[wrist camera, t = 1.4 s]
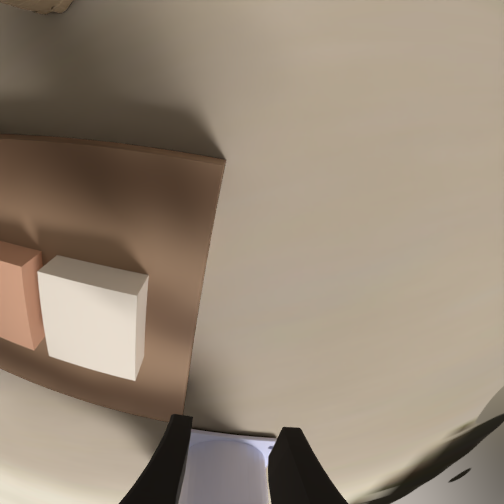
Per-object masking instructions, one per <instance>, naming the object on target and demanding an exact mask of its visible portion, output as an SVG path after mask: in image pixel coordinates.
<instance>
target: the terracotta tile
mask: <svg viewBox="0 0 504 504" xmlns="http://www.w3.org/2000/svg"><path fill="white" fill-rule="evenodd" d="M42 267H43V263H42V251H39V250H35V249H31V248H27V247H23V246H19V245H15V244H11V243H7V242H3V241H0V337H1V338H4V339H6V340H8V341H11V342H13V343H16V344H18V345H21V346H23V347H26V348H29V349H31V350H35V349H36V348H37V346H38V345H39V344H40V342H41V341H42V340H43V338H44V337H45V331H44V325H43V318H42V311H41V303H40V294H39V285H38V273H37V271H38V270H40V269H41V268H42Z"/></svg>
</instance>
